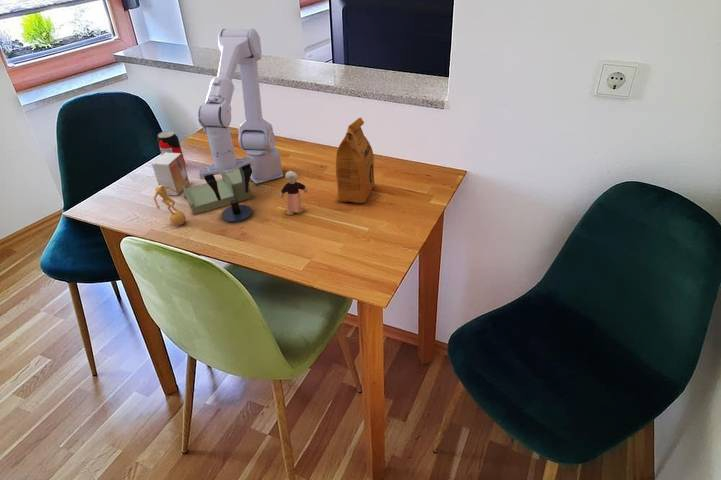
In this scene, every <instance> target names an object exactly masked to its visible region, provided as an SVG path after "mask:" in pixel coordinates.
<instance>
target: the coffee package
mask: <svg viewBox="0 0 721 480" xmlns="http://www.w3.org/2000/svg"><path fill="white" fill-rule="evenodd" d="M364 124H365V121H364V120H363V118H362V117H358V118H357V119H355V120H354V121H353V122H352V123H350V124H349V125H348V126H347V130H346V133H345V135H344V137H343V139H342V140H341V141H340V144H339V145H338V147H337V150H336V157H335V177H336V187H337V195H338V197H337V198H338V201H339V202H340V203H341V202H345V203H346V202H351V203H355V204H362V203H363V204H364V203H366V201H367V200H368V198H369V196H370V194H371V192H372V190H373V188H374V186H375V169H374V167H375V154H374V151H373V148H372V145H371V143H370V142H369V140H368V139H367V137H366V136H365V134H364V132H363V129H362V127H363V125H364Z"/></svg>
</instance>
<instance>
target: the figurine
mask: <svg viewBox="0 0 721 480" xmlns="http://www.w3.org/2000/svg"><path fill="white" fill-rule="evenodd" d="M167 188H169V189H171V190H172V191H174V192H176V191H175V190H174V189H172V188H170V187H169V186H163V185H161V186H159V185H158V186H156V187H155V194H154V196H153V201H154V203H155V205H156V208H157V210H160V208H161V206H160V205H159V203H158V200H157V197H158V196H160V197H161V198H162V200H161V202H162V203H163V204H164V205H166V206H167V207H166V208H167V210H168V211H169V213H170V215H169V221H170V222H171V224H173V225H175V226H181V225H183V224H184V223H185V222H186V214H185V213H184V212H183V211H181V210H179V209H176V207H175V204H176V201H175V200H174V199H173V198H172V197H171V195H167V191H166V189H167ZM176 193H177V192H176ZM177 194H178V193H177ZM171 208H172V209H173V210H172V209H171Z"/></svg>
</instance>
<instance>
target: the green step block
mask: <svg viewBox="0 0 721 480" xmlns="http://www.w3.org/2000/svg"><path fill="white" fill-rule="evenodd" d="M220 175H221V177H222V178H220V179H216V181H217V186H218V191H219V194H220V197H221V200H219V201H218V199H217V197H216V195H215V193H214V191H213V189H212V188H211V187H210V186H209V185H208V183H207V182H206V183H202V184H199V185H193V186H191V187H188V188H187V187H186V188H185V186H183V190H182V191H183V193H184V197H185V198H187V201H188V202H189V205H190V207H191V209H192V213H193V215H198V214H201V213H204V212H208V211H212V210H215V209H219V208H221V207H226V206H229V205H231V204H230V201H231V200H233V199H237V200H238V202H239V203H240V202H244V201H246V200H250V199H252V198H253V197H252V192H251V187H250V185H249V186H248V193H246V192H245V191H244V189H243V184H242V178H241V174H240V170H239V169H236V170H234V172H232V173H228V174H227V173H220Z"/></svg>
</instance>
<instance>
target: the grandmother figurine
mask: <svg viewBox="0 0 721 480" xmlns="http://www.w3.org/2000/svg"><path fill="white" fill-rule="evenodd" d="M298 177H299V176H298V173H296V172H295V171H293V170H289V171H287V172H286V173H285V179H286V181H287V183H285V185H283V187H282V189H280V193H279V198H281V199H282V198H284V195H285V194H286V206H287V211H286V215H288V216H292V215H294V214H295V213H296V214H301V213H303V209H302V198H301V192H300V190H301V191H303V192H304V193H305V194H307V193H308V189H307V187H306V185H305V184H303V183H301V182H298Z"/></svg>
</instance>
